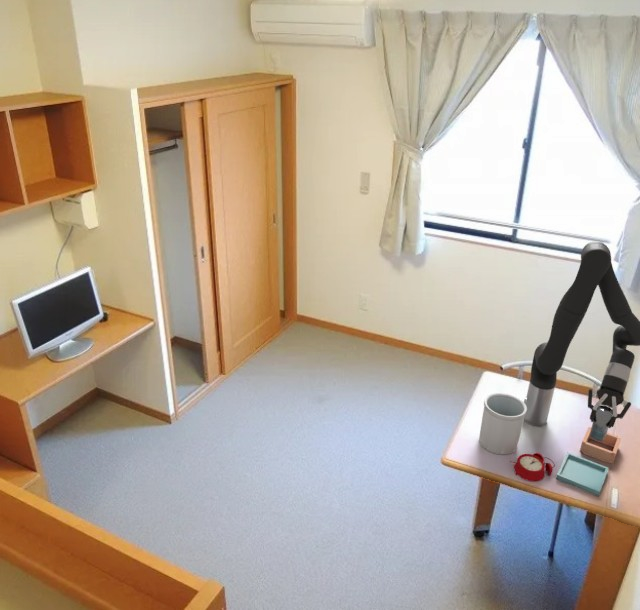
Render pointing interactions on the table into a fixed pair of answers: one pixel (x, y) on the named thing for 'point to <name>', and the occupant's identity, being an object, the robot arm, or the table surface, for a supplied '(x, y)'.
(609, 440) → the light orange open box
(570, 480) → the teal tray
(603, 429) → the canister
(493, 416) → the utensil holder
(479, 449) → the table surface
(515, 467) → the alarm clock
